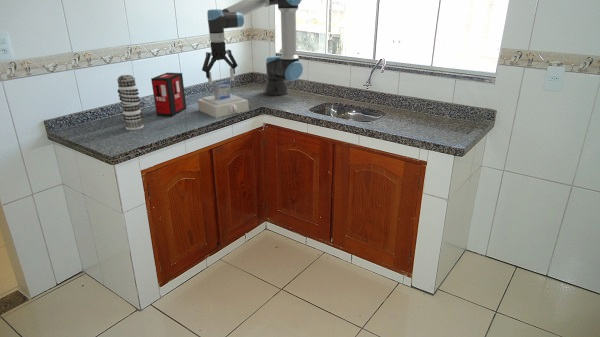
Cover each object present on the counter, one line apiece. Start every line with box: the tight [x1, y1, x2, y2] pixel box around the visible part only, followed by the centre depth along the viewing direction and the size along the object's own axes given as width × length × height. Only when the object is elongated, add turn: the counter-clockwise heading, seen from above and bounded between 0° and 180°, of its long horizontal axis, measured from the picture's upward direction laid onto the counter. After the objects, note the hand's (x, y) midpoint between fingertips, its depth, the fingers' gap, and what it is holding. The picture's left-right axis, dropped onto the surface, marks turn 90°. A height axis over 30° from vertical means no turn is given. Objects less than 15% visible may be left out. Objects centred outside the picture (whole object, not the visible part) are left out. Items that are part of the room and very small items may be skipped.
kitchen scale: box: [197, 93, 250, 119], centre depth 221 cm, size 20×21×7 cm
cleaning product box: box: [151, 72, 187, 118], centre depth 217 cm, size 16×9×20 cm, turn 168°
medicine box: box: [212, 80, 231, 100], centre depth 218 cm, size 8×4×9 cm, turn 142°
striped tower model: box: [116, 74, 144, 131], centre depth 192 cm, size 9×9×25 cm
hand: (221, 82), depth 217 cm, fingers open, 13 cm apart
